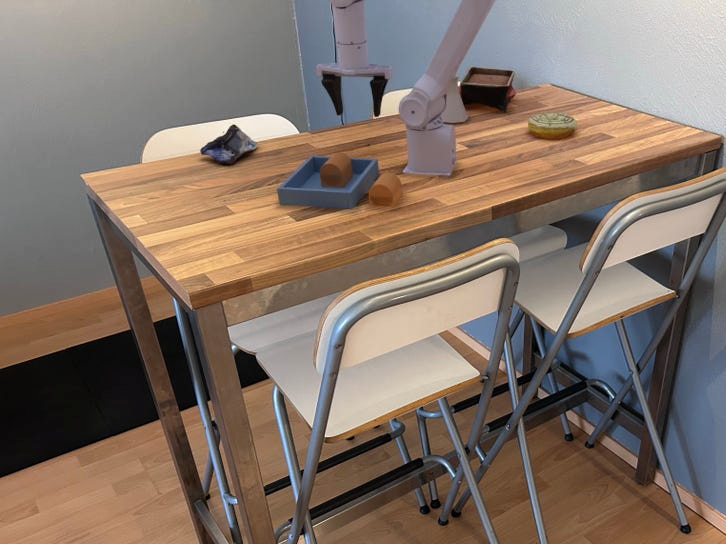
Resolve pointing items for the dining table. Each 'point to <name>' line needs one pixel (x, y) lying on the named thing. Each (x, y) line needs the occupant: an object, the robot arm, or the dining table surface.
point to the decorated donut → (552, 125)
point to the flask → (454, 104)
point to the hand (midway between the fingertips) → (358, 114)
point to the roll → (336, 171)
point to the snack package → (229, 146)
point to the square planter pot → (487, 87)
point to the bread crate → (308, 190)
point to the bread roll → (385, 190)
